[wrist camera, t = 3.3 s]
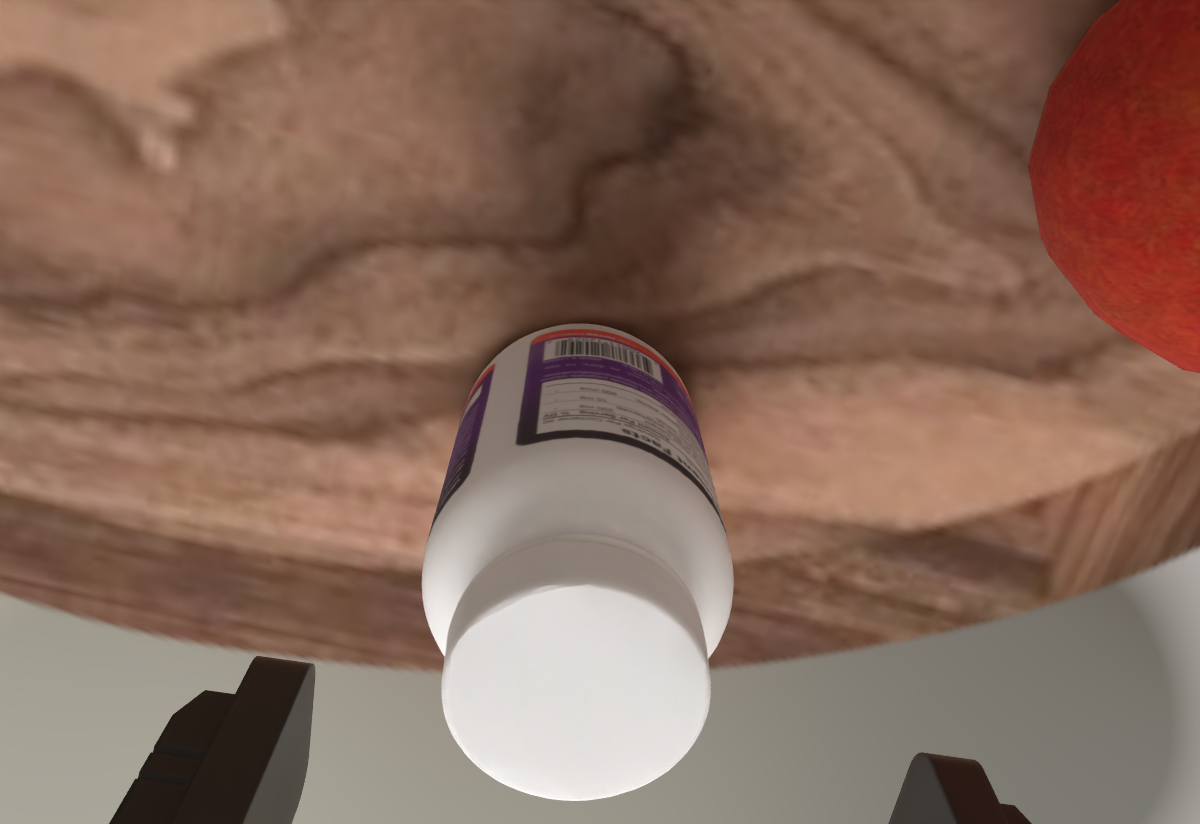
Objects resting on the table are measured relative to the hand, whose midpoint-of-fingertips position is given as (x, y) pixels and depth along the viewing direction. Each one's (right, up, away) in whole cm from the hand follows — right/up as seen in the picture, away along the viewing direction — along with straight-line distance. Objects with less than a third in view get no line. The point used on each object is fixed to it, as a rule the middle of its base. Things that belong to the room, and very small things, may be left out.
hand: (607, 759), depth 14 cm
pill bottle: (-1, +4, +11) cm, 11 cm away
